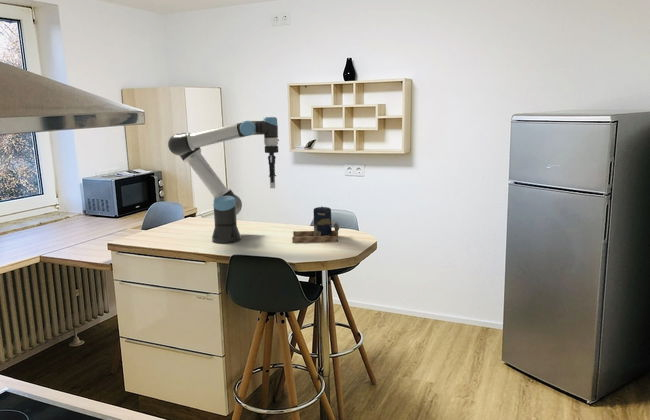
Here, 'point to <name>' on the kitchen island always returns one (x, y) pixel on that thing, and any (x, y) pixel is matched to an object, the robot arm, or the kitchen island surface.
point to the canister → (322, 221)
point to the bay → (310, 238)
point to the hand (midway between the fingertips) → (272, 188)
